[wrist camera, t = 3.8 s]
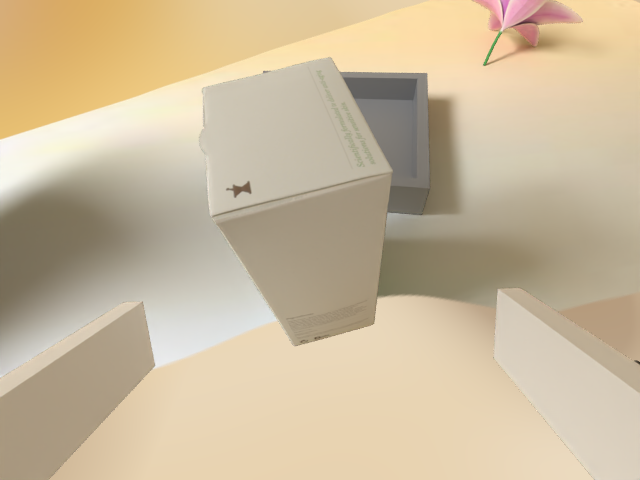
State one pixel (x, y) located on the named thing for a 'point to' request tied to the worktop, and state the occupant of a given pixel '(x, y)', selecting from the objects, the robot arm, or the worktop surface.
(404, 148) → the tray
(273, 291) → the skincare box
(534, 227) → the worktop surface
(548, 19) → the lily
